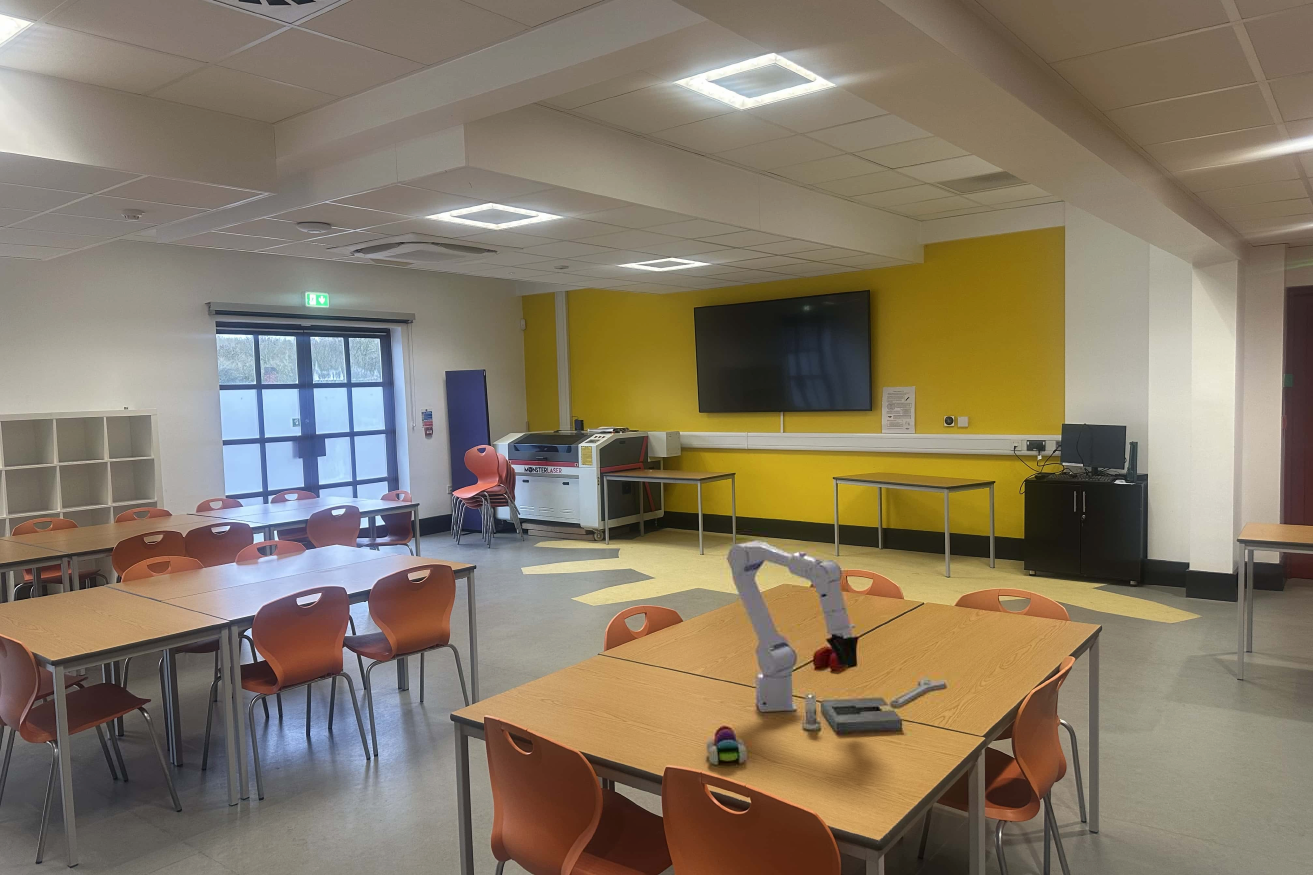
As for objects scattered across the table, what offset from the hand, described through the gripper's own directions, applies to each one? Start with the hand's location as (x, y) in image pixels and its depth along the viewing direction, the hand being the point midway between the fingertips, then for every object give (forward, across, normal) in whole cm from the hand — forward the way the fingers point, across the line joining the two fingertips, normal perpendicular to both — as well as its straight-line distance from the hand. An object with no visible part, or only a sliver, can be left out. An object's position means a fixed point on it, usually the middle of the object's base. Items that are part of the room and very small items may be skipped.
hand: (848, 665), depth 211 cm
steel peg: (+13, +4, +12) cm, 18 cm away
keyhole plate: (+14, +7, -1) cm, 16 cm away
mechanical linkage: (+6, +54, -9) cm, 55 cm away
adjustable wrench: (+15, +24, -21) cm, 35 cm away
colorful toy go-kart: (+12, -12, +35) cm, 39 cm away
